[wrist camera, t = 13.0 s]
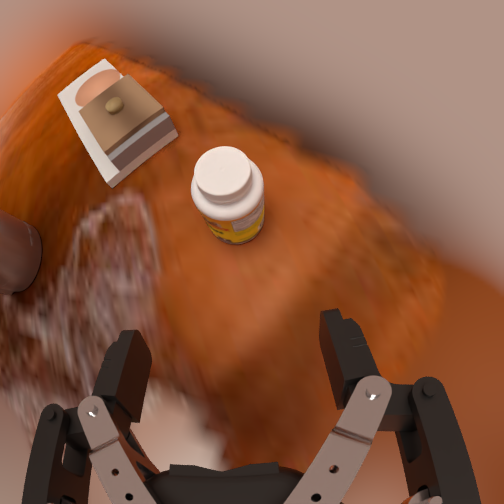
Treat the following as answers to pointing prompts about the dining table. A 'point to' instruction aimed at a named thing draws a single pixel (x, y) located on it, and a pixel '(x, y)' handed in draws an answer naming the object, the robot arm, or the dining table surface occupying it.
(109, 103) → the cover
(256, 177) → the supplement bottle
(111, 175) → the board
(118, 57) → the dining table surface
